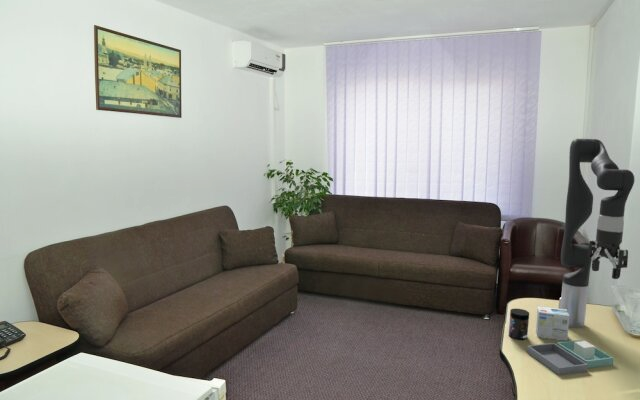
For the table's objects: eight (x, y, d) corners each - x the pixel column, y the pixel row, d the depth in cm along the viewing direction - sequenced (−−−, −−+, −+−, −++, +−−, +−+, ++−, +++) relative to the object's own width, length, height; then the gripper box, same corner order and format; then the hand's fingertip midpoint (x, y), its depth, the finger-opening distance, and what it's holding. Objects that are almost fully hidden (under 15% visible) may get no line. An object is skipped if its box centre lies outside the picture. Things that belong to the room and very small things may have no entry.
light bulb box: (564, 335, 182) (567, 309, 181) (567, 342, 176) (570, 315, 174) (534, 331, 186) (536, 305, 184) (536, 338, 179) (538, 311, 178)
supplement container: (514, 332, 185) (516, 307, 183) (531, 338, 179) (533, 312, 177) (504, 336, 181) (506, 310, 179) (520, 343, 175) (522, 316, 174)
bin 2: (555, 350, 170) (556, 342, 169) (581, 347, 172) (582, 339, 172) (585, 369, 156) (586, 361, 156) (613, 366, 159) (613, 357, 158)
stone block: (573, 353, 166) (574, 342, 165) (583, 352, 167) (585, 340, 166) (582, 360, 162) (584, 347, 161) (593, 358, 163) (595, 346, 162)
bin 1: (526, 353, 167) (527, 345, 167) (553, 350, 170) (553, 342, 169) (558, 376, 152) (559, 368, 151) (587, 373, 154) (588, 364, 154)
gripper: (584, 224, 164) (580, 269, 167) (618, 233, 151) (612, 282, 153) (602, 223, 166) (598, 267, 169) (637, 232, 152) (632, 280, 155)
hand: (605, 274), depth 161 cm, fingers open, 8 cm apart
